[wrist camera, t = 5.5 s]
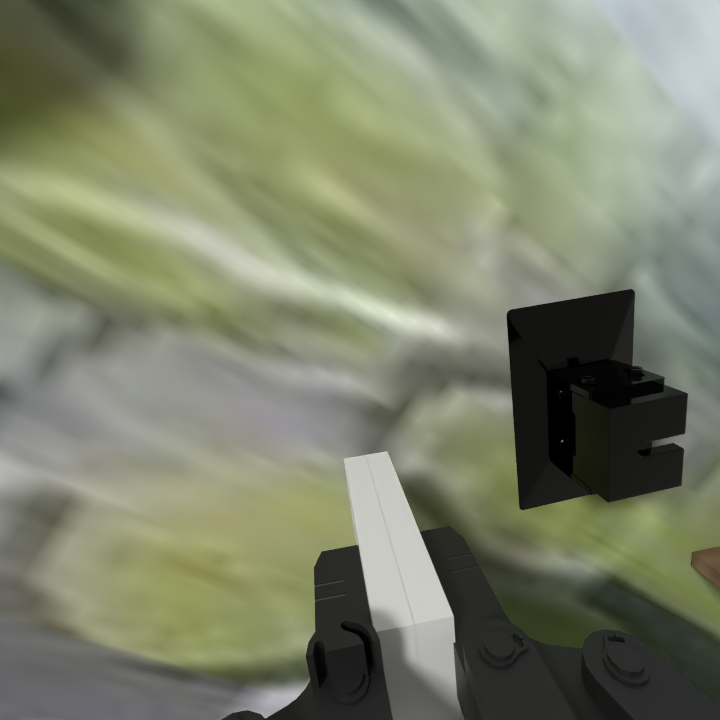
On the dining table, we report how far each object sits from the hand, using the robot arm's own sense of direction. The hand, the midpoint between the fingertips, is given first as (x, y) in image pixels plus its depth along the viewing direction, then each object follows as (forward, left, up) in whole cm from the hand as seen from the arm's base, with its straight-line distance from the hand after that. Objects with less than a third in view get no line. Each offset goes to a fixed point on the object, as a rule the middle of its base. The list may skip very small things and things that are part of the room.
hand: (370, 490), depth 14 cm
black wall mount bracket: (0, -10, -4) cm, 10 cm away
